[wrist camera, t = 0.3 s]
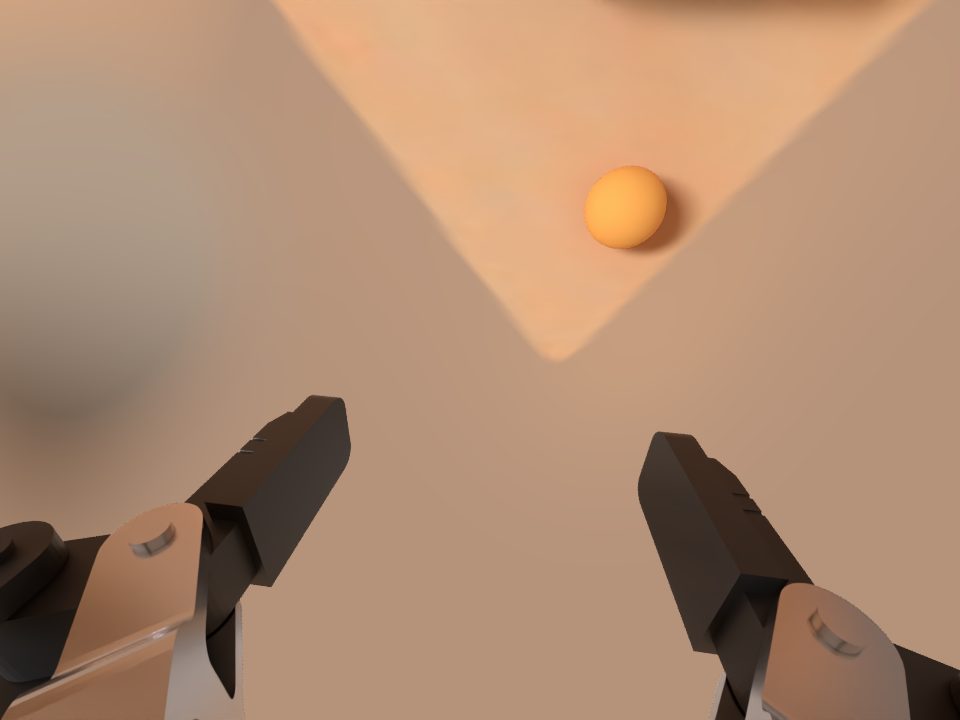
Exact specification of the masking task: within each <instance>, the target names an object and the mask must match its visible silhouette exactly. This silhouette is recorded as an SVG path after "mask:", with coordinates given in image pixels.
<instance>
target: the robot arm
mask: <svg viewBox="0 0 960 720" xmlns="http://www.w3.org/2000/svg"><path fill="white" fill-rule="evenodd" d="M350 450H351V443H350V436H349V429H348V422H347V415H346V408H345V403H344V401H343V400H342V399H341V398H337V397H327V396H316V395H311V396H309V397H308V398H307V399H306V400H305V401H304V402H303V403H302V404H301V405H300V406H299V407H298V408H297V409H296V410H295V411H294V412H287V413H286V414H284V415H282V416H280V417H278V418H276V419H275V420H273V421H271V422H269V423H268V424H267V425H266V426H265V427H263V428H262V429H261V430H260V431H259V432H258V433H257V434H256V435H255V436H254V437H253V440H250V441H249V442H248V443H247V444H246V445H244V446H243V447H242V448H241V451H240V453H238V452H237V453H236V454H235V455H234V456H233V457H232V458H231V459H230V460H229V461H228V462H227V463H226V464H224V465H223V466H222V467H221V468H220V469H219V470H218V471H217V472H216V473H215V474H214V475H213V476H212V477H211V478H210V479H209V480H208V481H207V482H206V483H204V484H203V485H202V486H201V487H200V488H199V489H198V490H197V491H196V492H195V493H194V494H193V495H192V496H191V497H190V498H189V499H188V500H187V501H185V502H184V503H172V504H166V505H162V506H159V507H156V508H153V509H150V510H148V511H146V512H144V513H142V514H140V515H138V516H136V517H134V518H132V519H131V520H129V521H128V522H126V523H124V524H123V525H122V526H120V527H119V528H118V529H117V530H116V531H114V532H113V533H112V534H109V535H103V536H96V537H89V538H83V539H76V540H69V541H62V539H61V538H60V536H59V535H58V534H57V532H56V531H55V530H54V528H53V527H52V526H51V525H50V524H48V523H46V522H41V521H30V522H22V523H18V524H13V525H9V526H6V527H3V528H0V720H245V714H244V705H243V656H242V606H241V602H240V598H241V597H242V595H243V594H244V592H245V591H246V589H247V588H248V586H249V585H250V584H253V585H260V586H267V587H271V586H272V585H273V583H274V582H275V580H276V578H277V577H278V575H279V574H280V572H281V570H282V569H283V567H284V566H285V564H286V562H287V560H288V559H289V558H290V556H291V554H292V553H293V551H294V549H295V548H296V546H297V545H298V543H299V541H300V540H301V538H302V537H303V535H304V533H305V532H306V530H307V529H308V527H309V525H310V524H311V522H312V520H313V519H314V517H315V516H316V514H317V512H318V511H319V509H320V508H321V506H322V504H323V503H324V501H325V499H326V498H327V496H328V495H329V493H330V491H331V490H332V488H333V487H334V485H335V483H336V482H337V480H338V479H339V477H340V475H341V474H342V472H343V471H344V469H345V467H346V465H347V463H348V460H349V456H350ZM638 496H639V501H640V504H641V507H642V510H643V513H644V515H645V518H646V521H647V524H648V526H649V529H650V532H651V535H652V537H653V540H654V543H655V546H656V549H657V551H658V554H659V557H660V560H661V562H662V565H663V568H664V571H665V573H666V576H667V579H668V581H669V584H670V587H671V590H672V593H673V595H674V598H675V601H676V604H677V606H678V609H679V612H680V614H681V617H682V620H683V623H684V626H685V628H686V631H687V634H688V637H689V639H690V642H691V645H692V648H693V650H694V651H697V652H704V653H710V654H717V655H718V656H719V658H720V661H721V663H722V665H723V668H724V672H723V673H722V675H721V677H720V679H719V682H718V686H717V690H716V693H715V697H714V701H713V704H712V708H711V711H710V715H709V719H708V720H960V670H958V669H955V668H953V667H951V666H948V665H945V664H943V663H941V662H938V661H936V660H933V659H931V658H928V657H926V656H923V655H921V654H918V653H916V652H913V651H911V650H908V649H906V648H903V647H901V646H898V645H896V644H893V643H892V642H891V641H890V639H889V638H888V637H887V635H886V634H885V633H884V632H883V631H882V630H881V629H880V628H879V626H878V625H877V624H875V623H874V622H873V621H872V620H871V619H870V618H869V617H868V616H867V615H866V614H864V613H863V612H862V611H861V610H859V609H858V608H857V607H855V606H854V605H852V604H851V603H850V602H848V601H847V600H845V599H843V598H842V597H840V596H838V595H836V594H834V593H832V592H830V591H828V590H826V589H823V588H821V587H818V586H815V585H814V584H813V582H812V581H811V579H810V578H809V577H808V575H807V574H806V572H805V571H804V570H803V568H802V567H801V566H800V564H799V563H798V562H797V560H796V559H795V557H794V556H793V554H792V553H791V552H790V550H789V549H788V548H787V546H786V545H785V544H784V542H783V541H782V539H781V538H780V536H779V535H778V534H777V532H776V531H775V529H774V528H773V527H772V525H771V524H770V523H769V521H768V520H767V519H766V517H765V516H762V514H761V510H760V509H759V507H758V506H757V505H756V503H755V502H754V500H753V499H750V498H749V494H748V492H747V491H746V489H745V488H744V487H743V485H742V484H741V483H740V481H739V480H738V478H737V477H736V476H735V475H734V474H733V473H732V472H731V471H729V470H728V469H727V468H726V467H725V466H723V465H722V464H721V463H720V462H718V461H717V460H716V459H714V458H708V457H707V455H706V454H705V452H704V451H703V449H702V448H701V446H700V445H699V444H698V442H697V441H696V439H695V438H694V437H693V436H692V435H686V434H677V433H668V432H657V433H655V435H654V436H653V438H652V441H651V444H650V447H649V450H648V453H647V456H646V459H645V462H644V465H643V468H642V471H641V474H640V477H639V482H638Z"/></svg>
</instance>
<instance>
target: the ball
mask: <svg viewBox="0 0 960 720" xmlns="http://www.w3.org/2000/svg"><path fill="white" fill-rule="evenodd" d="M666 207H667V196H666V191H665V188H664V185H663V184H662V182H661V180H660V179H659V178H658V177H657V176H656V175H655V174H654V173H653V172H651V171H650V170H648V169H646V168H643V167H639V166H625V167H620V168H617V169H615V170H613V171H610V172H609V173H607V174H606V175H604V176H603V177H602V178H601V179H600V180H599V181H598V182H597V183H596V184H595V185H594V187H593V188H592V190H591V191H590V193H589V195H588V198H587V201H586V205H585V222H586V225H587V228H588V230H589V232H590V234H591V235H592V236H593V238H594V239H595V240H597V241H598V242H599V243H601V244H602V245H605V246H607V247H610V248H615V249H624V248H630V247H633V246H636V245H638V244H640V243H642V242H644V241H645V240H647V239H648V238H649V237H650V236H651V235H652V234H653V233H654V232H655V231H656V230H657V229H658V227H659V226H660V224H661V222H662V220H663V218H664V215H665V212H666Z"/></svg>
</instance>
